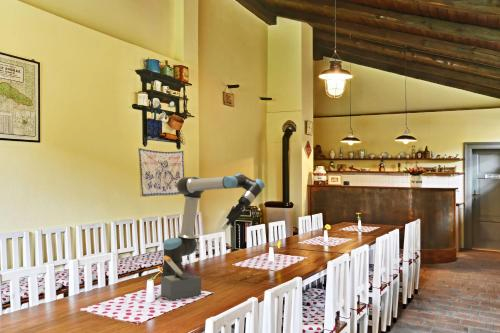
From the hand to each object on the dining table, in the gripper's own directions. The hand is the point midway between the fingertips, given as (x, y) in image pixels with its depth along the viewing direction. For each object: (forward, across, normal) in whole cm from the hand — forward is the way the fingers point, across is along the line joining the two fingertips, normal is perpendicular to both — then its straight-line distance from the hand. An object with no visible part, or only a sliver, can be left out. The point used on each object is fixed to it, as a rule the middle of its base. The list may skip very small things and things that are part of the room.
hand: (222, 228), depth 267 cm
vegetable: (+35, +11, -13) cm, 39 cm away
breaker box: (+45, -6, -3) cm, 46 cm away
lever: (+37, -6, +5) cm, 38 cm away
